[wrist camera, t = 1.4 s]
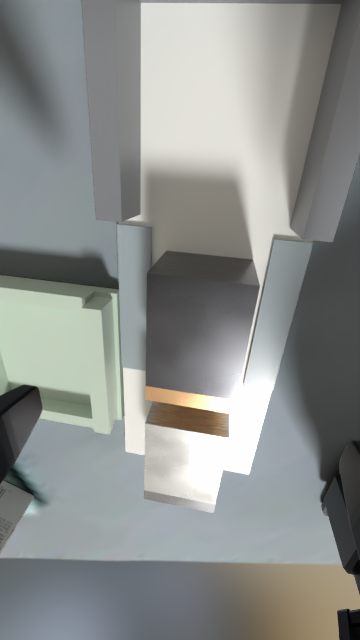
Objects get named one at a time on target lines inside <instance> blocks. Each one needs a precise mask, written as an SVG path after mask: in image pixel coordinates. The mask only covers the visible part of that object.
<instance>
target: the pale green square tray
mask: <svg viewBox="0 0 360 640" xmlns="http://www.w3.org/2000/svg"><path fill="white" fill-rule="evenodd" d="M24 384H27V385H33V386H37V387H38V388H39V391H40V396H41V401H42V406H43V408H42V413H41V415H40V417H39V418H40V419H46V420H51V421H57V422H62V423H68V424H73V425H79V426H84V427H90V428H94V432H98V433H104V434H109V435H110V432H111V430H112V428H113V426H114V424H115V422H116V420H122V419H123V417H124V414H125V413H124V382H123V367H122V358H121V330H120V301H119V289H111V288H103V287H95V286H86V285H78V284H70V283H62V282H54V281H46V280H37V279H29V278H21V277H13V276H5V275H0V395H2V394H4V393H6V392H8V391H10V390H12V389H15V388H17V387H19V386H21V385H24Z"/></svg>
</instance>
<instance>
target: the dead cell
mask: <svg viewBox="0 0 360 640" xmlns="http://www.w3.org/2000/svg"><path fill="white" fill-rule="evenodd" d="M228 440H229V414H228V413H222V412H216V411H210V410H204V409H198V408H192V407H186V406H180V405H174V404H168V403H162V402H156V401H153V402H152V405H151V408H150V411H149V414H148V416H147V419H146V422H145V468H144V499H148V500H153V501H157V502H162V503H167V504H172V505H177V506H182V507H187V508H191V509H196V510H201V511H206V512H211V513H214V509H215V504H216V499H217V494H218V489H219V484H220V479H221V474H222V469H223V465H224V460H225V455H226V450H227V445H228Z"/></svg>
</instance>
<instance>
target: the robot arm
mask: <svg viewBox="0 0 360 640" xmlns="http://www.w3.org/2000/svg"><path fill="white" fill-rule="evenodd" d="M42 408H43V406H42V401H41V396H40V391H39V388H38V387H37V386H33V385H27V384H24V385H21V386H19V387H17V388H15V389H12V390H10V391H8V392H6V393H4V394H2V395H0V484H1V483H2V481H3V480H4V478H5V477H6V475H7V474H8V472H9V471H10V469H11V468H12V466H13V464H14V463H15V461H16V460H17V458H18V456H19V454H20V453H21V451H22V449H23V447H24V445H25V443H26V441H27V439H28V438H29V436H30V434H31V432H32V430H33V428H34V426H35V424H36V423H37V421H38V419H39V417H40V415H41V413H42ZM321 507H322V510H323V513H324V515H326V516H329V520H330V523H331V527H332V530H333V534H334V537H335V541H336V544H337V548H338V551H339V555H340V558H341V562H342V565H343V568H344V569H345V570H346V572H347V573H348V574H353V575H354V577H355V580H356V584H357V587H358V590H359V594H360V441H358V440H350V441H349V442H348V443H347V445H346V447H345V450H344V452H343V454H342V456H341V458H340V461H339V471H338V473H337V474H336V475H335V476H334V478H333V480H332V483H331V485H330V487H329V489H328V491H327V493H326V495H325V497H324V501H323V503H322V506H321ZM337 614H338V625H339V639H340V640H360V609H358V610H352V611H350V610H349V609H343V610H338V612H337Z"/></svg>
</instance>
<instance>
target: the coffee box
mask: <svg viewBox="0 0 360 640" xmlns="http://www.w3.org/2000/svg"><path fill="white" fill-rule="evenodd" d="M33 498H34V496H33V495H32V494H30V493H28V492H26V491H24V490H22V489H20V488H18V487H16V486H14V485H12V484H10V483H8V482H6V481H4V480H3V481H2V483H1V484H0V553H1V551H2V550H3V548H4V546H5V545H6V543H7V541H8V540H9V538H10V536H11V535H12V533H13V531H14V530H15V528H16V526H17V525H18V523H19V521H20V520H21V518H22V516H23V515H24V513H25V511H26V510H27V508H28V506H29V505H30V503H31V501H32V499H33Z"/></svg>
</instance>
